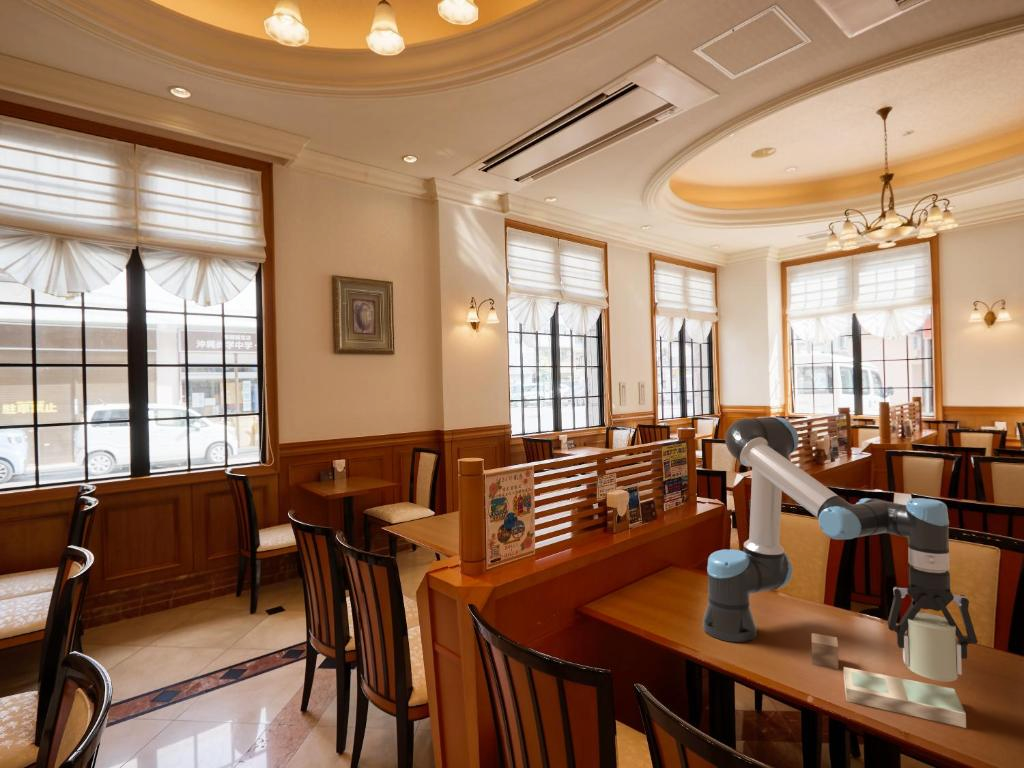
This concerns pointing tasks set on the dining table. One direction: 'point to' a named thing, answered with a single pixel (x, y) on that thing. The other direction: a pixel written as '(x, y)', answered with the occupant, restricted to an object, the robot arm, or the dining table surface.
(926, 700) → the board
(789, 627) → the dining table surface
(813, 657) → the cube
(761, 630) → the dining table surface
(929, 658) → the can
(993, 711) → the dining table surface
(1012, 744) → the dining table surface
